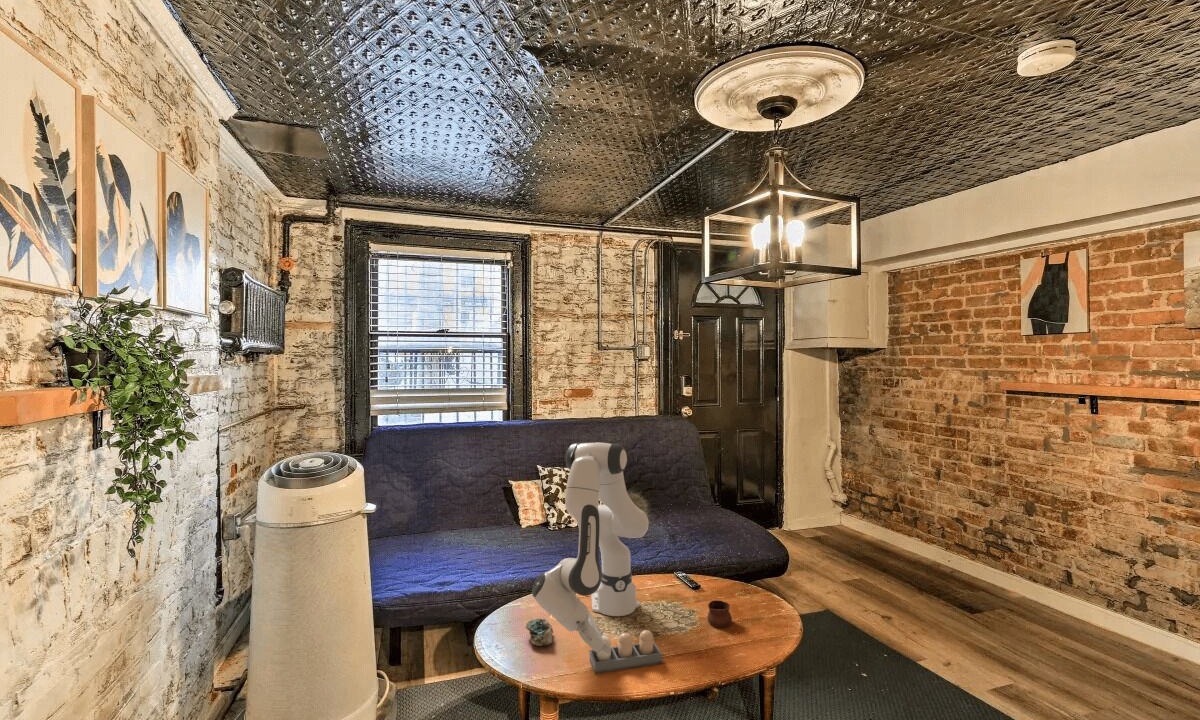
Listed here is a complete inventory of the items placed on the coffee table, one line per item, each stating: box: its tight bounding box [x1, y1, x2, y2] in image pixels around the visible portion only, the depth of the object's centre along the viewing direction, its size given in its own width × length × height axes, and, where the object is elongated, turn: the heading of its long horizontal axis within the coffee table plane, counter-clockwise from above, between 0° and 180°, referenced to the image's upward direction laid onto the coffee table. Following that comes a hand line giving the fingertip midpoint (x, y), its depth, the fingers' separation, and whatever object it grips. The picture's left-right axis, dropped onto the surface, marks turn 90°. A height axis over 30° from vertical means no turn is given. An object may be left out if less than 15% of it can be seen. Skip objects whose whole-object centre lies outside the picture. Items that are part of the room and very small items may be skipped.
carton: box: [589, 629, 663, 675], centre depth 174 cm, size 8×22×9 cm, turn 104°
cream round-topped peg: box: [597, 635, 612, 662], centre depth 172 cm, size 4×4×8 cm
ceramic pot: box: [707, 599, 733, 629], centre depth 198 cm, size 18×18×7 cm
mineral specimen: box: [525, 618, 554, 647], centre depth 187 cm, size 12×9×8 cm
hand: (605, 642), depth 172 cm, fingers open, 8 cm apart
